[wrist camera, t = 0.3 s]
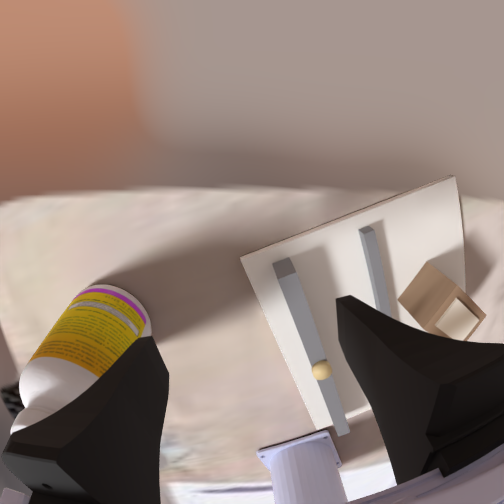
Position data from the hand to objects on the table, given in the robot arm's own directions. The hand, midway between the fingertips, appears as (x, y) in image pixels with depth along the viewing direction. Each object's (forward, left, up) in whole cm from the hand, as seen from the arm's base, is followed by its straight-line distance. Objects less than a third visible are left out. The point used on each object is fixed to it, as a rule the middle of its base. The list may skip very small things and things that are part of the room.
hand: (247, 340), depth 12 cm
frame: (-10, -13, -9) cm, 19 cm away
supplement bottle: (-2, +11, -10) cm, 15 cm away
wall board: (-11, -8, -10) cm, 17 cm away
